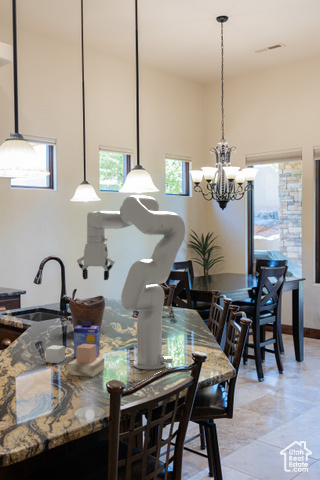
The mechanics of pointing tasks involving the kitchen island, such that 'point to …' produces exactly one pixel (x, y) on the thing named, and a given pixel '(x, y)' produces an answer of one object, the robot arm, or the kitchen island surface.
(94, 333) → the ink cartridge box
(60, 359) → the pale grey cube
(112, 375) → the kitchen island surface
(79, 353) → the terracotta cube
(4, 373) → the kitchen island surface
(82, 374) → the maple base block
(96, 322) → the brown tapered pot
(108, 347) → the kitchen island surface
